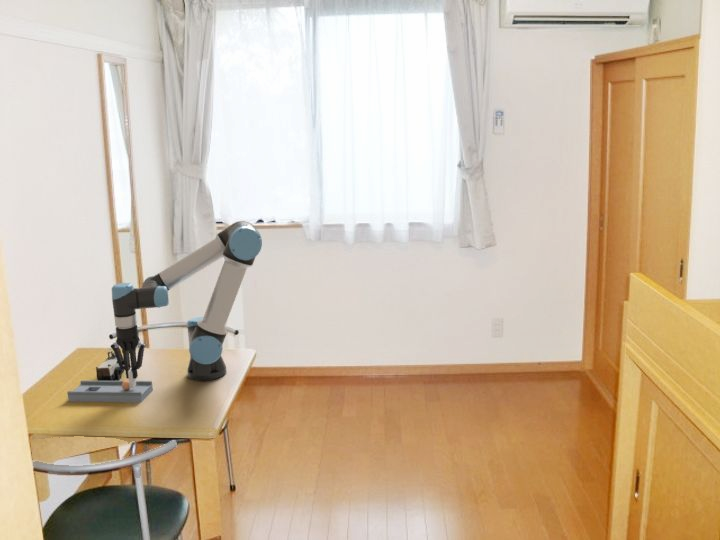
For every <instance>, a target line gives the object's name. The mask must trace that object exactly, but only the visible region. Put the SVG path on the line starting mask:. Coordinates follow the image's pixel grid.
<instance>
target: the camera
mask: <svg viewBox="0 0 720 540" xmlns="http://www.w3.org/2000/svg"><path fill="white" fill-rule="evenodd" d="M110 354H111V355H110ZM95 370H96V372H95V373H96V378H97V380H96V381H121V379H122V376H123V374H124V372H125V370H124V369H120V367H119V364H118V361H117V358H116V356H115V353H114V350H113V349H112V348H111V349H110V350H108V352H107V358H105V360H104V361H103V362H102V363H101V364H99V366H96V367H95Z"/></svg>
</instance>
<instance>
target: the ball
mask: <svg viewBox="0 0 720 540" xmlns="http://www.w3.org/2000/svg"><path fill="white" fill-rule="evenodd" d="M123 381H124V382H123V383H122V388H123V389H124V390H129V389H130V386H129V380H123Z"/></svg>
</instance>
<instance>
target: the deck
mask: <svg viewBox="0 0 720 540" xmlns="http://www.w3.org/2000/svg"><path fill="white" fill-rule="evenodd" d="M124 381H125V380H115V381H98V380H80V382H79V383H80V384H79V385H78V386H77V387H76V388H74V389H73V390H72V391H71V390H70V391H67V399H68V402H72V403H73V402H75V403H76V402H78V403H79V402H83V403H85V402H89V403H90V402H92V403H95V402H97V403H101V402H103V403H142V402H143V401H144V400H145V399H147V397H149V395H150V394H151V393H152V392H153V390H154V387H153V381H152V380H136V386H135V387H134V388H130V389H129V390H124V389H123V388H122V383H123V382H124Z"/></svg>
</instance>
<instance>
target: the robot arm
mask: <svg viewBox="0 0 720 540" xmlns="http://www.w3.org/2000/svg"><path fill="white" fill-rule="evenodd" d="M262 246H263V239H262V236H261V233H260V232H259V231H258V230H257V228H256V226H255V225H254V224H253V223H252V222H250V221H246V220H240V221H235V222H233V223H232V224H231V225H228V226H227V227H226V228H224V229H223V230H221V231H220V232H218V233H216V237H215V238H213V239H212V240H211V241H208V242H207V243H205V244H204V245H202V246H201V247H199V248H197V249H196V250H194V251H192V252H191V253H189V254H187V255H186V256H184V257H183V258H181V259H180V260H178V261H177V262H175V263H173V264H172V265H170V266H168V267H167V268H165V269H163V270H161V271H160V272H159V273H157V274H155V275H153V276H148V277H147V278H145V279H144V280H143V282H142V287H140V288H139V287H137V288H134V286H133V285H134V284H133V283H131V282H121V283H116V284H114V285H113V286H112V287H111V301H112V302H111V303H112V308H113V315H114V326H115V334H116V340H115V342H113V343H112V344H111V345H110V348H111V349H113V353H114V354H115V356H116V358H117V361H118V364H119V367H120V369H124V372H125V377H126V379H128V381H129V386H130V388H134V387H135V386H136V381H137V378H138V370H139V369H140V368H141V367H143V359H144V353H145V348H146V346H147V343H146V342H142V341H141V340H140V338H139V331H138V325H137V323H138V322H137V321H138V320H137V314H136V313H137V312H136V310H140V309H141V310H143V309H155V308H163V307H167V306H168V305H169V291H170V290H172V289H173V288H175V287H177V286H178V285H179V284H181V283H183V282H185V281H186V280H188V279H189V278H191V277H192V276H194V275H196V274H197V273H199V272H201V271H202V270H204V269H206V268H207V267H208V266H210V265H212V264H214V263H216V262H218V261H219V260H221V259H222V258H223V259H224V262H223V264H222V267H221V269H220V272H219V274H218V275H219V276H218V278H217V281H216V283H215V286H214V288H213V290H212V294H211V296H210V299H209V301H208V305H207V307H206V310H205V313H204V315H203V316H200V317H195V318H191V319H189V320H187V323H186V325H187V326H186V328H187V335H188V345H189V347H188V348H189V349H188V352H189V354H190V355H189V361H188V367H187V378H188V379H190V380H192V381H200V382H201V381H213V380H216V379H219V378H222V377H223V376H225V375H226V373H227V365H226V364H225V360H224V358H223V356H222V353H223V344H224V342H225V338H226V337H227V334H228V330H227V329H226V326H227V322H228V319H229V317H230V314H231V312H232V309H233V305H234V303H235V301H236V298H237V295H238V293H239V290H240V287H241V285H242V283H243V279H244V277H245V274H246V271H247V270H248V268H250V267H252V266H253V265H254V262H255V259H256V257H257V256H258V255H259V253H260V252H261V250H262ZM136 348H138V349H136ZM137 350H138V352H137V353H136V351H137Z"/></svg>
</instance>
